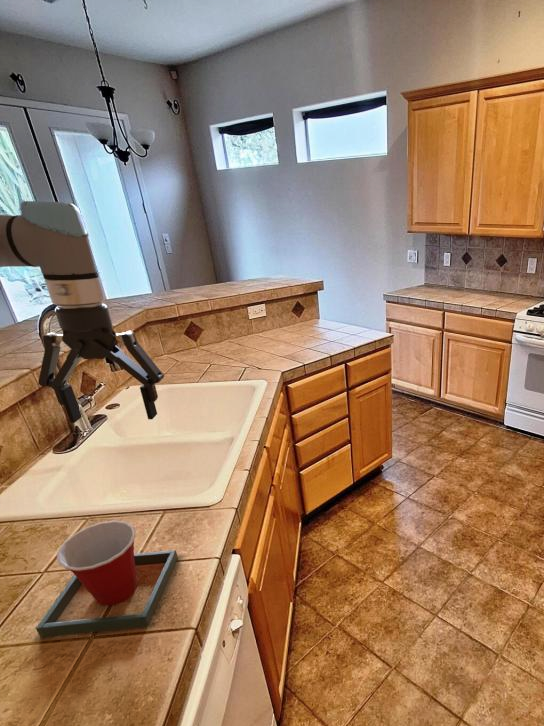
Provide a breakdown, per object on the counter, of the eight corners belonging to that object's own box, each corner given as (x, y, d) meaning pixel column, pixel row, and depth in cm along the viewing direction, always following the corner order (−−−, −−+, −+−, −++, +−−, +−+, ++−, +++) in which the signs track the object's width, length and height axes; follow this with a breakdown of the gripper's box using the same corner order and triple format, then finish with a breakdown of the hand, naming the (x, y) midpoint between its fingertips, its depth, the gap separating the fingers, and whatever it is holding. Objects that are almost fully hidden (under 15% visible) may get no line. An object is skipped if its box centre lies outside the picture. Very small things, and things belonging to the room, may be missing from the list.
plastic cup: (64, 621, 69) (37, 565, 64) (103, 573, 79) (82, 520, 74) (132, 620, 70) (111, 564, 64) (163, 572, 79) (147, 520, 74)
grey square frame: (42, 642, 67) (35, 628, 65) (91, 570, 80) (86, 557, 79) (150, 630, 69) (145, 616, 67) (179, 562, 83) (175, 550, 81)
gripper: (-18, 309, 68) (31, 429, 77) (150, 307, 71) (177, 423, 81) (12, 301, 74) (54, 413, 84) (165, 300, 78) (189, 408, 88)
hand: (115, 418), depth 82 cm, fingers open, 13 cm apart
